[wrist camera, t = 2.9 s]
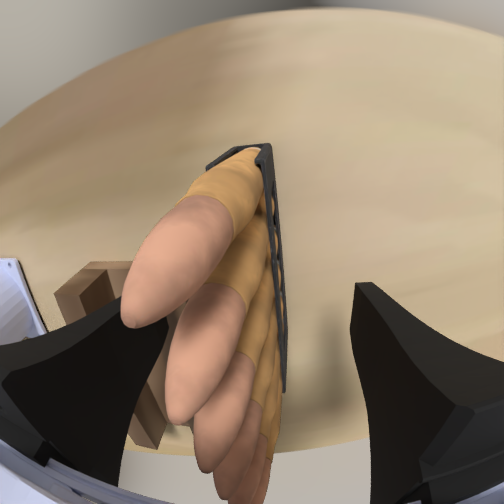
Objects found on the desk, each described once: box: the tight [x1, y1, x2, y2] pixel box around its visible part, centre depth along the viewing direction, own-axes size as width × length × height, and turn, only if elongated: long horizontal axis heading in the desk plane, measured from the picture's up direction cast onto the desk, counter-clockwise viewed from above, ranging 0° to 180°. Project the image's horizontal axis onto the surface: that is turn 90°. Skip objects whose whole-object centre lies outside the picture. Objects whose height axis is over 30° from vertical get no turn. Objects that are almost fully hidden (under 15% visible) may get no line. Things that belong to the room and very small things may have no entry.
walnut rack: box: [54, 261, 194, 450], centre depth 18 cm, size 8×15×4 cm, turn 4°
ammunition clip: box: [121, 143, 288, 504], centre depth 10 cm, size 11×2×12 cm, turn 7°
